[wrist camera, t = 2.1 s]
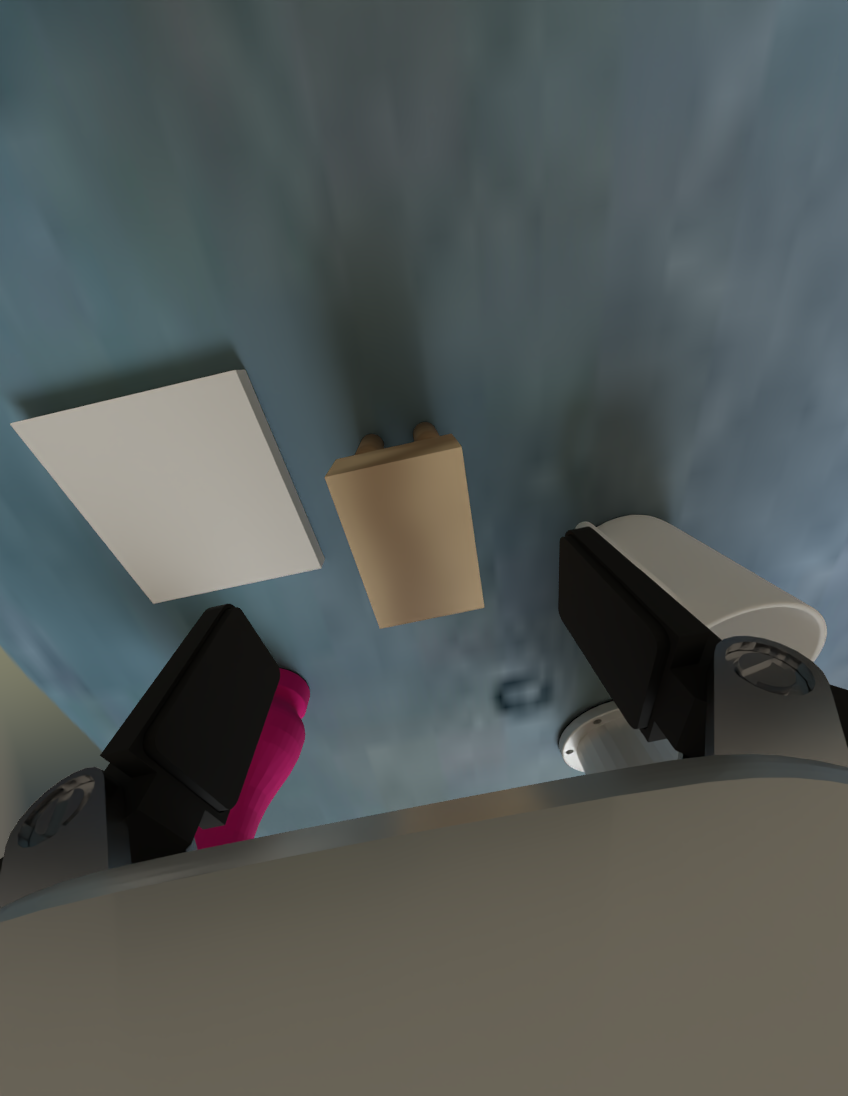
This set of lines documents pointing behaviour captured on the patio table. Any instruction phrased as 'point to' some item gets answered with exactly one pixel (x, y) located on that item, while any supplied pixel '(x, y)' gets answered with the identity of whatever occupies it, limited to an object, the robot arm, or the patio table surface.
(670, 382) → the patio table surface
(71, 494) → the tile
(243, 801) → the pepper mill
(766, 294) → the patio table surface
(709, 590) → the cup
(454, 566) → the pegged wooden block
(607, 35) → the patio table surface
